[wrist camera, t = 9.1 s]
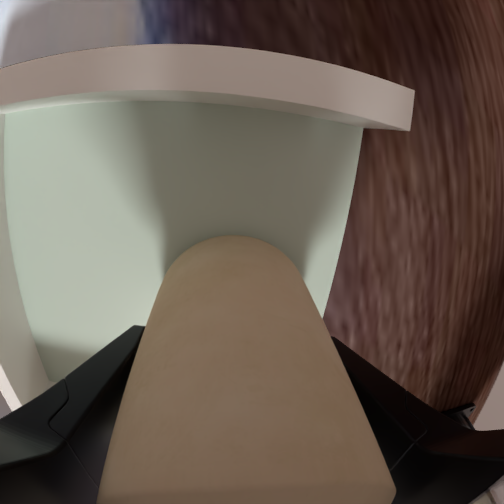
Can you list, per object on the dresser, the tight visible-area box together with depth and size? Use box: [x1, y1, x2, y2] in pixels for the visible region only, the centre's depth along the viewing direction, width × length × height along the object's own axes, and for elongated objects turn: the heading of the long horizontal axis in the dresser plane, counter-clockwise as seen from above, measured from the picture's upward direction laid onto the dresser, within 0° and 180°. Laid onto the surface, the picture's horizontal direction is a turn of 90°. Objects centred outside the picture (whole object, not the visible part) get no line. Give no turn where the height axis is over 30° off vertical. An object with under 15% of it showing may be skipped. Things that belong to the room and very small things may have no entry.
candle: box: [96, 235, 396, 504], centre depth 7 cm, size 6×6×10 cm
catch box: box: [0, 44, 415, 412], centre depth 10 cm, size 15×16×4 cm
